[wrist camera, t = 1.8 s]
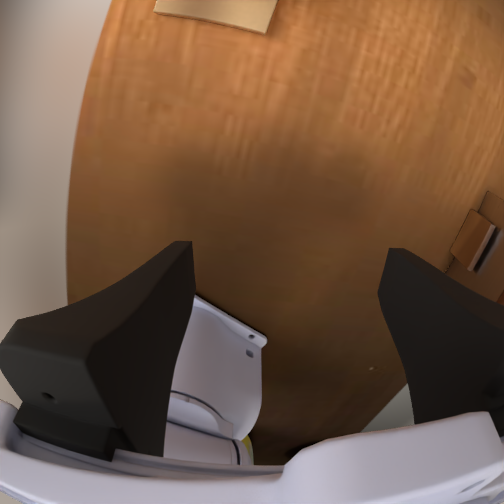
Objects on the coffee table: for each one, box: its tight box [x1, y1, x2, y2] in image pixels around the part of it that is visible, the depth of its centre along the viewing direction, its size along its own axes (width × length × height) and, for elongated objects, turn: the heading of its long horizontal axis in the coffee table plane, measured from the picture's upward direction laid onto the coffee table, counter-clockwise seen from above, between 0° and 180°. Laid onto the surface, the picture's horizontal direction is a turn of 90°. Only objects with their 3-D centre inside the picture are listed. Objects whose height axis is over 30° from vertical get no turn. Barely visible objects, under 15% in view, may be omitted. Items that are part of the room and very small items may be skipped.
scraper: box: [446, 191, 504, 305], centre depth 18 cm, size 2×8×8 cm, turn 163°
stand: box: [450, 209, 496, 271], centre depth 21 cm, size 2×4×3 cm, turn 163°
